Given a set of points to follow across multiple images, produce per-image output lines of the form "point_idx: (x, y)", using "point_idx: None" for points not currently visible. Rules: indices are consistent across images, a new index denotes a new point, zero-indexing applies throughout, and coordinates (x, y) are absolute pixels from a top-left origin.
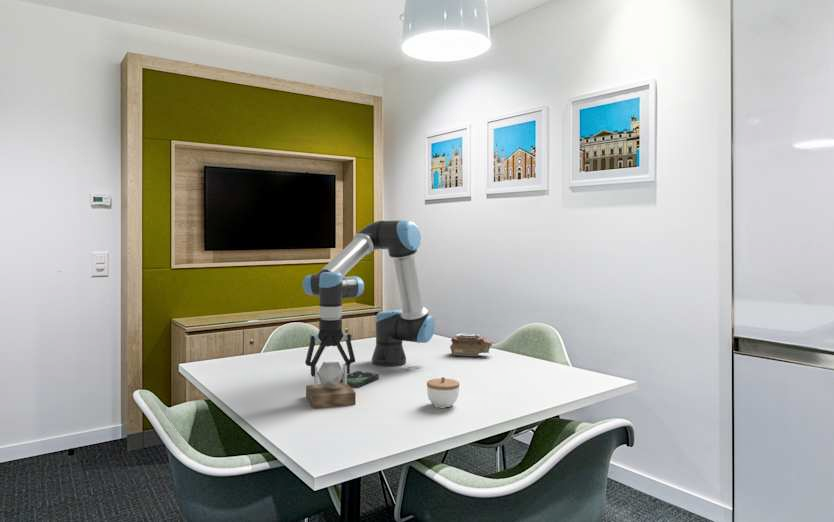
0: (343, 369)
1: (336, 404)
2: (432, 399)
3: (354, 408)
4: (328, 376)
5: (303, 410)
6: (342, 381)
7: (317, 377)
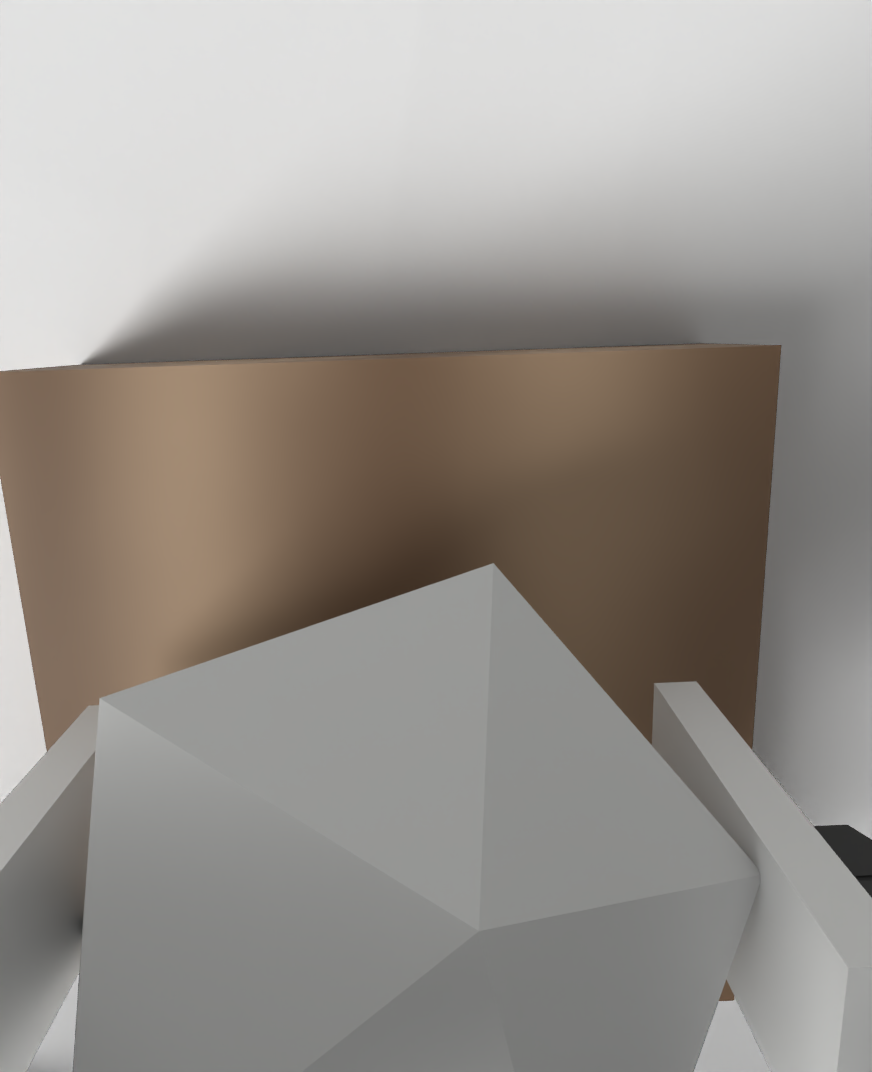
0: (17, 1016)
1: (361, 355)
2: None
3: (115, 171)
4: (495, 624)
5: (845, 294)
6: None
7: (721, 776)
